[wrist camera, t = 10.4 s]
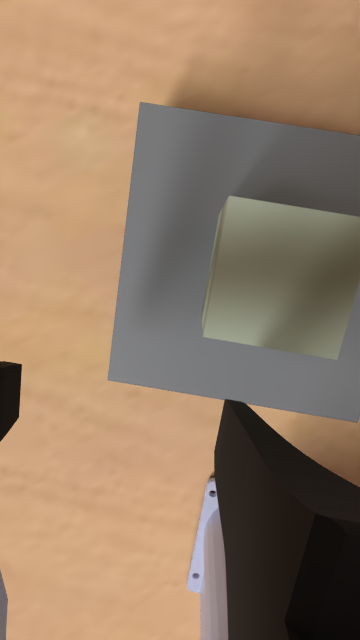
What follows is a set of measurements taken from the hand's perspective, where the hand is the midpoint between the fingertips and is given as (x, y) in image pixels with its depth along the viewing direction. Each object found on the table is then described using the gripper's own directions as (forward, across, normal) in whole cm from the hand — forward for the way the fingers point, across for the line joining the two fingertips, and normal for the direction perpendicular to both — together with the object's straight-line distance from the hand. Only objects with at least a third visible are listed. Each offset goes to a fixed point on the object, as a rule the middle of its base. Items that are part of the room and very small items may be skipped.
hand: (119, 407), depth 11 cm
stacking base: (+9, -5, -5) cm, 12 cm away
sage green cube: (+6, -5, -5) cm, 10 cm away
